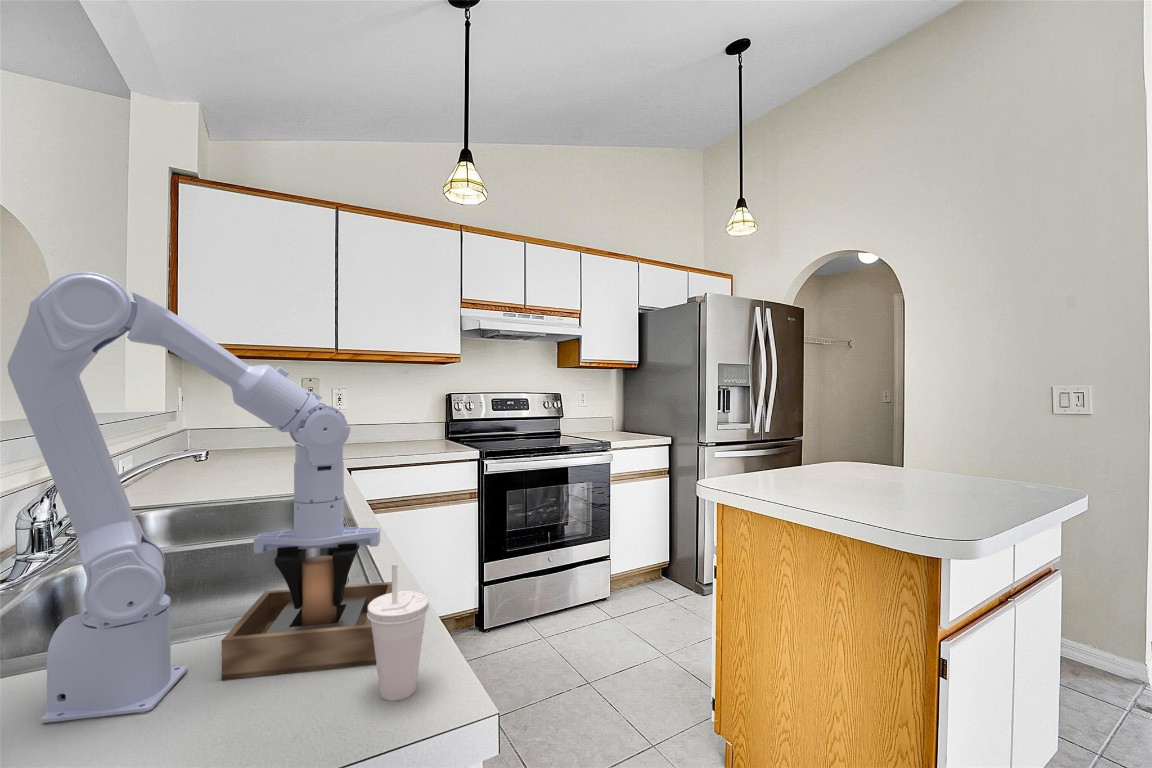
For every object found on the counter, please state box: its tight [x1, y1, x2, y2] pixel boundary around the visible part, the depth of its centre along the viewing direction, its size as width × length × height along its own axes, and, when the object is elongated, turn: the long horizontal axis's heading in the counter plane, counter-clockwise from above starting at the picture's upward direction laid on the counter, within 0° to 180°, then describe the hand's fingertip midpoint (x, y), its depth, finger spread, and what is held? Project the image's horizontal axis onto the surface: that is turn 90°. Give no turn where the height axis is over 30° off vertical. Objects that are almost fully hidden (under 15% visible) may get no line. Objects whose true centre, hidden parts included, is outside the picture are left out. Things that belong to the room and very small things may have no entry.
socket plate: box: [266, 596, 367, 633], centre depth 69 cm, size 10×10×3 cm
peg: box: [302, 555, 336, 626], centre depth 69 cm, size 4×4×8 cm
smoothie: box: [367, 562, 430, 702], centre depth 58 cm, size 6×6×14 cm
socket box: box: [221, 581, 392, 681], centre depth 69 cm, size 17×14×4 cm
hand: (319, 604), depth 69 cm, fingers closed on peg, 4 cm apart
